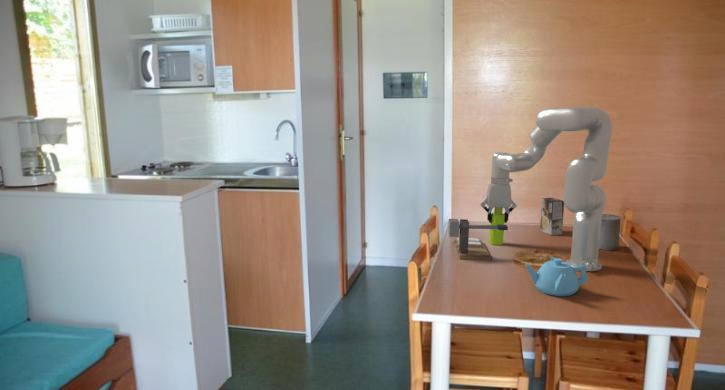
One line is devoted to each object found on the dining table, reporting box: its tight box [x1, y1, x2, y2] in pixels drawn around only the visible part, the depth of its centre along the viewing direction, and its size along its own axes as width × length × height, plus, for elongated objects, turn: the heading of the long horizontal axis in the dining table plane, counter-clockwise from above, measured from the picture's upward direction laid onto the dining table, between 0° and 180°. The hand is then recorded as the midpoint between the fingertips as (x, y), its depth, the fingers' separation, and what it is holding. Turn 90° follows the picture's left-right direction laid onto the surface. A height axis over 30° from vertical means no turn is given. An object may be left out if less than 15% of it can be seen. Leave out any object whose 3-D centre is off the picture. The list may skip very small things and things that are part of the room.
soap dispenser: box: [488, 208, 506, 246], centre depth 233 cm, size 6×7×20 cm
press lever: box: [447, 218, 509, 238], centre depth 215 cm, size 6×23×6 cm, turn 87°
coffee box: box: [539, 197, 565, 236], centre depth 253 cm, size 9×6×16 cm
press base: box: [452, 218, 491, 261], centre depth 223 cm, size 24×12×14 cm, turn 177°
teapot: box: [525, 256, 589, 297], centre depth 179 cm, size 15×15×11 cm
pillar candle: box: [599, 213, 621, 252], centre depth 228 cm, size 10×10×15 cm
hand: (497, 221), depth 234 cm, fingers closed on soap dispenser, 6 cm apart
